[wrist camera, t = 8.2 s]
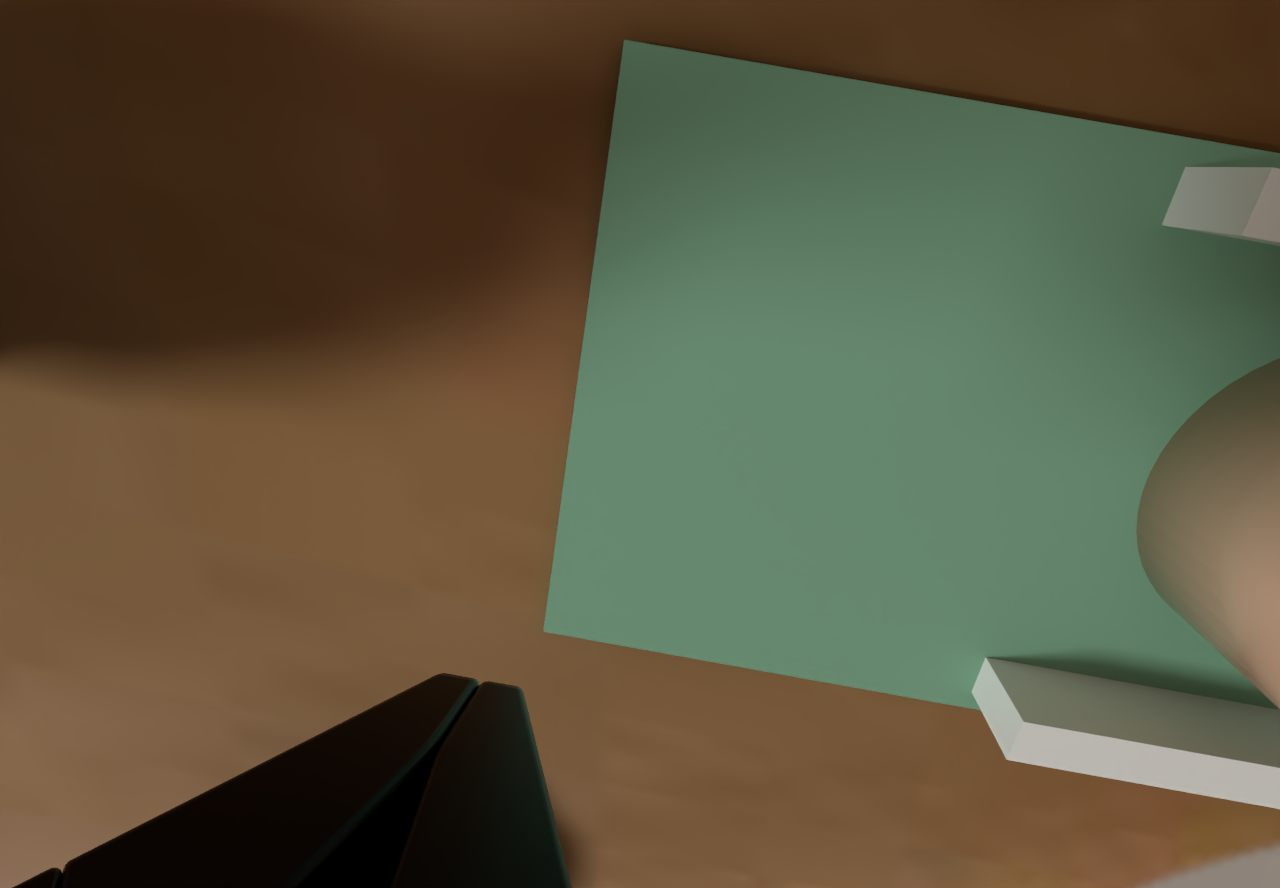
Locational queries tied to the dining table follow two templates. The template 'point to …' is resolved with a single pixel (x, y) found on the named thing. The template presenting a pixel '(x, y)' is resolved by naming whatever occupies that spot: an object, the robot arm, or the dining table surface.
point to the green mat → (890, 382)
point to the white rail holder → (1136, 714)
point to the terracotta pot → (1222, 525)
